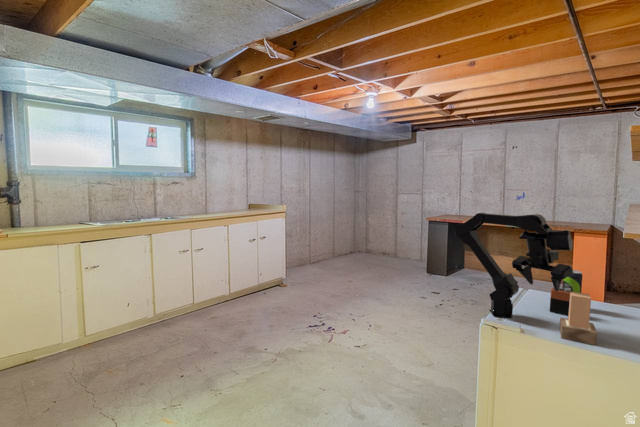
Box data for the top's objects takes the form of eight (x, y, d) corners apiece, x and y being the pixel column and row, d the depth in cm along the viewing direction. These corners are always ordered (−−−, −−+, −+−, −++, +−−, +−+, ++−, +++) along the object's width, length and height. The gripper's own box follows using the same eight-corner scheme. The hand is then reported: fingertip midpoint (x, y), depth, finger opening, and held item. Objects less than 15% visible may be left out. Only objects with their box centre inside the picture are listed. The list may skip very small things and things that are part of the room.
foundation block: (561, 338, 112) (562, 326, 112) (559, 328, 120) (560, 317, 120) (596, 345, 108) (597, 332, 107) (592, 334, 115) (593, 323, 115)
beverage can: (582, 310, 138) (585, 273, 136) (564, 308, 140) (567, 272, 138) (576, 305, 144) (579, 270, 142) (558, 303, 146) (561, 268, 144)
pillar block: (569, 325, 113) (571, 295, 112) (567, 320, 117) (570, 291, 116) (588, 329, 110) (591, 298, 109) (586, 323, 114) (588, 294, 113)
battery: (570, 316, 131) (572, 290, 130) (549, 311, 136) (551, 287, 135) (572, 313, 135) (574, 288, 134) (551, 309, 139) (553, 284, 138)
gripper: (579, 244, 118) (585, 284, 121) (526, 236, 134) (532, 272, 138) (559, 257, 113) (566, 299, 117) (507, 248, 130) (514, 284, 134)
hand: (544, 287), depth 126 cm, fingers open, 9 cm apart
